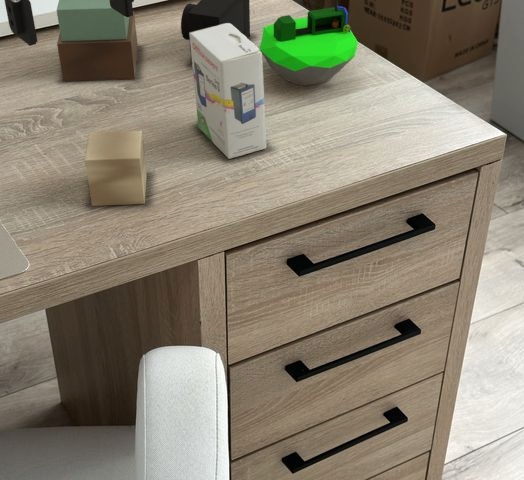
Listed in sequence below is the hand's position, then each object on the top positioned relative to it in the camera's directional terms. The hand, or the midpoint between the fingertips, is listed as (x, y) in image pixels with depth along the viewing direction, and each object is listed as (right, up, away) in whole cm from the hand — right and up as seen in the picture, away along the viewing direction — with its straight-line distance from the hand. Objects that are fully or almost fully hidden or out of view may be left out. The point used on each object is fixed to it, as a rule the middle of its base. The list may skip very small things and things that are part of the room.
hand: (75, 25), depth 86 cm
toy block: (+2, -12, +15) cm, 19 cm away
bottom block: (-4, +8, +37) cm, 38 cm away
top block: (-4, +11, +33) cm, 35 cm away
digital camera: (+11, +10, +40) cm, 42 cm away
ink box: (+13, -5, +23) cm, 27 cm away
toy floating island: (+22, +5, +33) cm, 40 cm away
